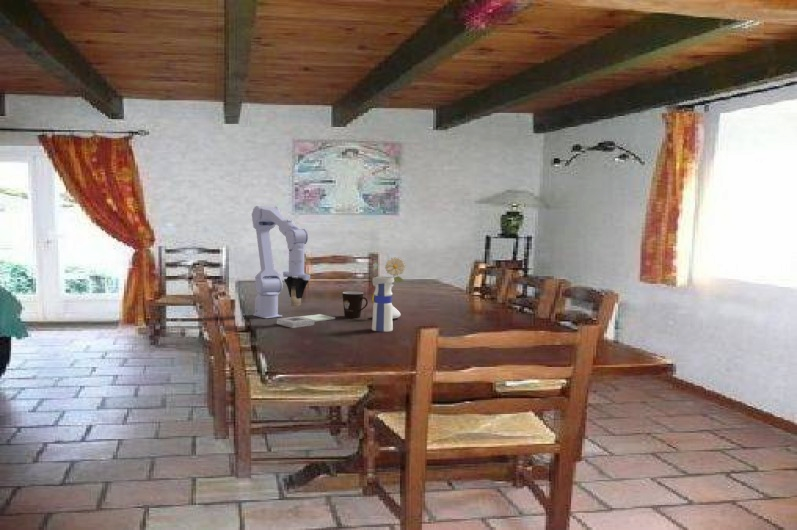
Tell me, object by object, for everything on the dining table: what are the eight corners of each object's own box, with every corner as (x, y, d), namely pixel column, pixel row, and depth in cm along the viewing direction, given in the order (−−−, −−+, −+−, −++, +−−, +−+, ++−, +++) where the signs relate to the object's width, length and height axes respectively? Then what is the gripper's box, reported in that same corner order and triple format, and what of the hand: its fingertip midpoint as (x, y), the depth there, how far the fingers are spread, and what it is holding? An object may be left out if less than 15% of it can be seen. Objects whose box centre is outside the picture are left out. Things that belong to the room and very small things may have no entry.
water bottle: (367, 330, 232) (369, 262, 230) (374, 326, 240) (375, 260, 238) (389, 332, 230) (391, 263, 228) (395, 328, 238) (397, 261, 236)
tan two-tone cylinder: (289, 305, 240) (289, 286, 239) (296, 304, 243) (297, 286, 242) (294, 306, 238) (295, 287, 237) (302, 305, 240) (302, 287, 239)
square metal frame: (276, 324, 241) (276, 318, 240) (298, 321, 248) (298, 316, 248) (292, 327, 234) (292, 322, 233) (314, 325, 241) (314, 319, 240)
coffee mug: (338, 315, 263) (339, 291, 262) (358, 315, 267) (358, 291, 266) (348, 320, 253) (349, 295, 252) (369, 319, 256) (369, 294, 255)
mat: (299, 318, 255) (299, 316, 255) (319, 315, 263) (319, 314, 262) (315, 321, 248) (315, 319, 248) (335, 318, 255) (335, 317, 255)
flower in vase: (368, 319, 256) (370, 257, 254) (377, 315, 267) (379, 255, 265) (399, 322, 252) (401, 258, 250) (407, 317, 263) (409, 257, 261)
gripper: (276, 260, 241) (275, 296, 242) (299, 263, 231) (298, 300, 232) (291, 259, 246) (291, 294, 247) (315, 262, 236) (314, 299, 237)
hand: (296, 297), depth 240 cm, fingers closed on tan two-tone cylinder, 4 cm apart
